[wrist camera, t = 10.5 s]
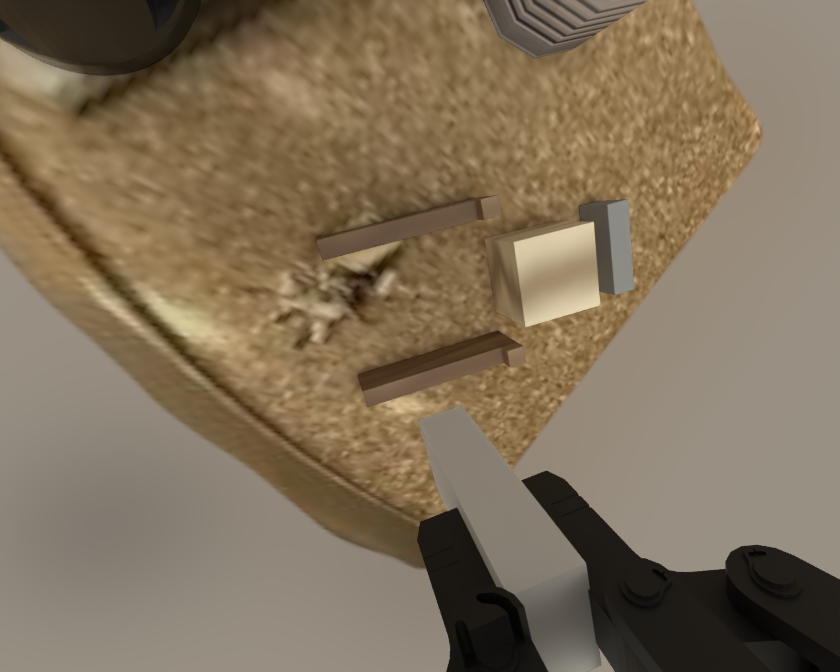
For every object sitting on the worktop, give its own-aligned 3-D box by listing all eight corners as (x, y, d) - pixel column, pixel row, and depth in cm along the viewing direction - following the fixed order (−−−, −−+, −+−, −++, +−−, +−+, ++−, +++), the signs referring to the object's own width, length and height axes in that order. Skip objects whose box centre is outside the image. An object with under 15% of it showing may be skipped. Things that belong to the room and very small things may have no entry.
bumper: (579, 206, 39) (607, 204, 35) (597, 201, 39) (627, 199, 36) (587, 288, 41) (614, 295, 38) (605, 283, 42) (633, 289, 38)
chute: (315, 238, 34) (316, 241, 29) (474, 198, 36) (498, 194, 32) (362, 389, 39) (369, 413, 34) (500, 345, 41) (526, 362, 36)
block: (483, 238, 38) (513, 242, 32) (553, 221, 39) (593, 221, 33) (495, 311, 40) (525, 327, 34) (560, 293, 41) (600, 305, 36)
